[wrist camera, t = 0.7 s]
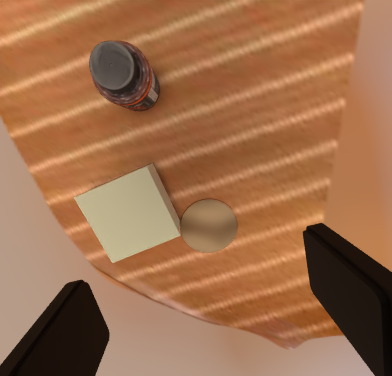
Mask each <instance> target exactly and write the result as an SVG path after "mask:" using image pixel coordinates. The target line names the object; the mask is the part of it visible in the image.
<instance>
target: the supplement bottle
mask: <svg viewBox="0 0 392 376" xmlns="http://www.w3.org/2000/svg"><path fill="white" fill-rule="evenodd" d="M89 66H90V71H91V74H92V79H93V82H94V84H95V86H96V88H97V90H98V91H99V92H100V94H101V95H102V96H104V97H105V98H106V99H107V100H109V101H111V102H113V103H115V104H117V105H120V106H123V107H125V108H128V109H131V110H134V111H143V110H147V109H149V108H150V107H152V106H153V105H154V104H155V102H156V101H157V99H158V96H159V92H160V87H159V82H158V79H157V77H156V75H155V73H154V71H153V70H152V68H151V66H150V65H149V63H148V61H147V59H146V58H145V56H144V55H143V54H142V52H141V51H140V50H139V49H138V48H136V47H135V46H133V45H132V44H130V43H127V42H124V41H104V42H101V43H100V44H98V45H97V46H96V47H95V48H94V49H93V51H92V53H91V55H90V60H89Z"/></svg>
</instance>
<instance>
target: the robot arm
mask: <svg viewBox="0 0 392 376" xmlns="http://www.w3.org/2000/svg"><path fill="white" fill-rule="evenodd" d="M303 238H304V245H305V252H306V260H307V267H308V274H309V281H310V287H311V290H312V292H313V294H314V295H315V296H316V298H317V299H318V300H319V302H320V303H321V304H322V306H323V307H324V308H325V310H326V311H327V312H328V314H329V315H330V316H331V318H332V319H333V320H334V322H335V323H336V324H337V326H338V327H339V328H340V330H341V331H342V332H343V334H344V335H345V336H346V338H347V339H348V340H349V342H350V343H351V344H352V346H353V347H354V348H355V350H356V351H357V352H358V354H359V355H360V356H361V358H362V359H363V360H364V362H365V363H366V364H367V366H368V367H369V368H370V370H371V371H372V372H373V374H374V375H375V376H392V272H391V271H389V270H388V269H387V268H385V267H383V266H382V265H381V264H379V263H378V262H377V261H375V260H374V259H372V258H371V257H370V256H368V255H367V254H365V253H364V252H362V251H361V250H360V249H358V248H357V247H355V246H354V245H353V244H351V243H350V242H348V241H347V240H346V239H344V238H343V237H341V236H340V235H339V234H337V233H336V232H334V231H333V230H331V229H330V228H329V227H327V226H326V225H324V224H323V223H319V224H315V225H310V226H307V228H306V230H305V231H303ZM108 341H109V329H108V327H107V325H106V323H105V320H104V318H103V316H102V314H101V311H100V309H99V307H98V305H97V302H96V300H95V298H94V295H93V293H92V290H91V288H90V286H89V284H88V283H87V282H84V281H83V280H77V281H74V282H69V283H67V284H66V285H65V286H64V287H63V288H62V290H61V291H60V292H59V293H58V295H57V296H56V297H55V298H54V300H53V301H52V302H51V303H50V304H49V306H48V307H47V308H46V310H45V311H44V312H43V313H42V314H41V316H40V317H39V318H38V319H37V321H36V322H35V323H34V324H33V326H32V327H31V328H30V329H29V331H28V332H27V333H26V334H25V335H24V337H23V338H22V339H21V341H20V342H19V343H18V344H17V345H16V347H15V348H14V349H13V350H12V352H11V353H10V354H9V355H8V357H7V358H6V359H5V360H4V361H3V363H2V364H1V365H0V376H95V375H96V372H97V369H98V367H99V364H100V362H101V359H102V357H103V354H104V351H105V349H106V346H107V343H108Z"/></svg>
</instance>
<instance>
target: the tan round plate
mask: <svg viewBox="0 0 392 376" xmlns="http://www.w3.org/2000/svg"><path fill="white" fill-rule="evenodd" d="M180 230H181V234H182V237H183V239H184V241H185V242H186V243H187V244H188V245H189V246H190V247H191V248H193V249H194V250H196V251H199V252H203V253H213V252H217V251H220V250H222V249H224V248H225V247H227V246H228V245H229V244H230V243H231V242H232V241H233V239H234V237H235V235H236V232H237V220H236V217H235V214H234V213H233V211H232V210H231V208H230V207H229V206H228V205H226V204H225V203H223V202H221V201H218V200H214V199H204V200H200V201H197V202H195V203H193V204H192V205H191V206H189V207H188V208H187V209H186V211H185V212H184V214H183V216H182V219H181V224H180Z"/></svg>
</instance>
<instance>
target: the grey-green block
mask: <svg viewBox="0 0 392 376" xmlns="http://www.w3.org/2000/svg"><path fill="white" fill-rule="evenodd" d="M74 199H75V200H76V202H77V204H78V205H79V207H80V209H81V211H82V212H83V214H84V216H85V217H86V219H87V221H88V222H89V224H90V226H91V228H92V229H93V231H94V233H95V234H96V236H97V238H98V239H99V241H100V243H101V245H102V246H103V248H104V250H105V251H106V253H107V255H108V256H109V258H110V260H111V262H112V263H114V262H116V261H119V260H121V259H124V258H126V257H129V256H131V255H134V254H136V253H139V252H141V251H144V250H146V249H149V248H151V247H154V246H156V245H159V244H161V243H163V242H166V241H168V240H171V239H173V238H176V237H178V236H180V232H179V226H180V219H179V217H178V215H177V213H176V211H175V209H174V207H173V205H172V203H171V201H170V198H169V196H168V194H167V192H166V190H165V188H164V186H163V184H162V182H161V180H160V177H159V175H158V173H157V171H156V169H155V167H154V165H153V163H151V164H149V165H147V166H144V167H142V168H140V169H137V170H135V171H133V172H130V173H128V174H126V175H124V176H121V177H119V178H117V179H114V180H112V181H110V182H107V183H105V184H103V185H101V186H98V187H96V188H94V189H92V190H90V191H88V192H85V193H83V194H81V195H79V196H76V197H74Z"/></svg>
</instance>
